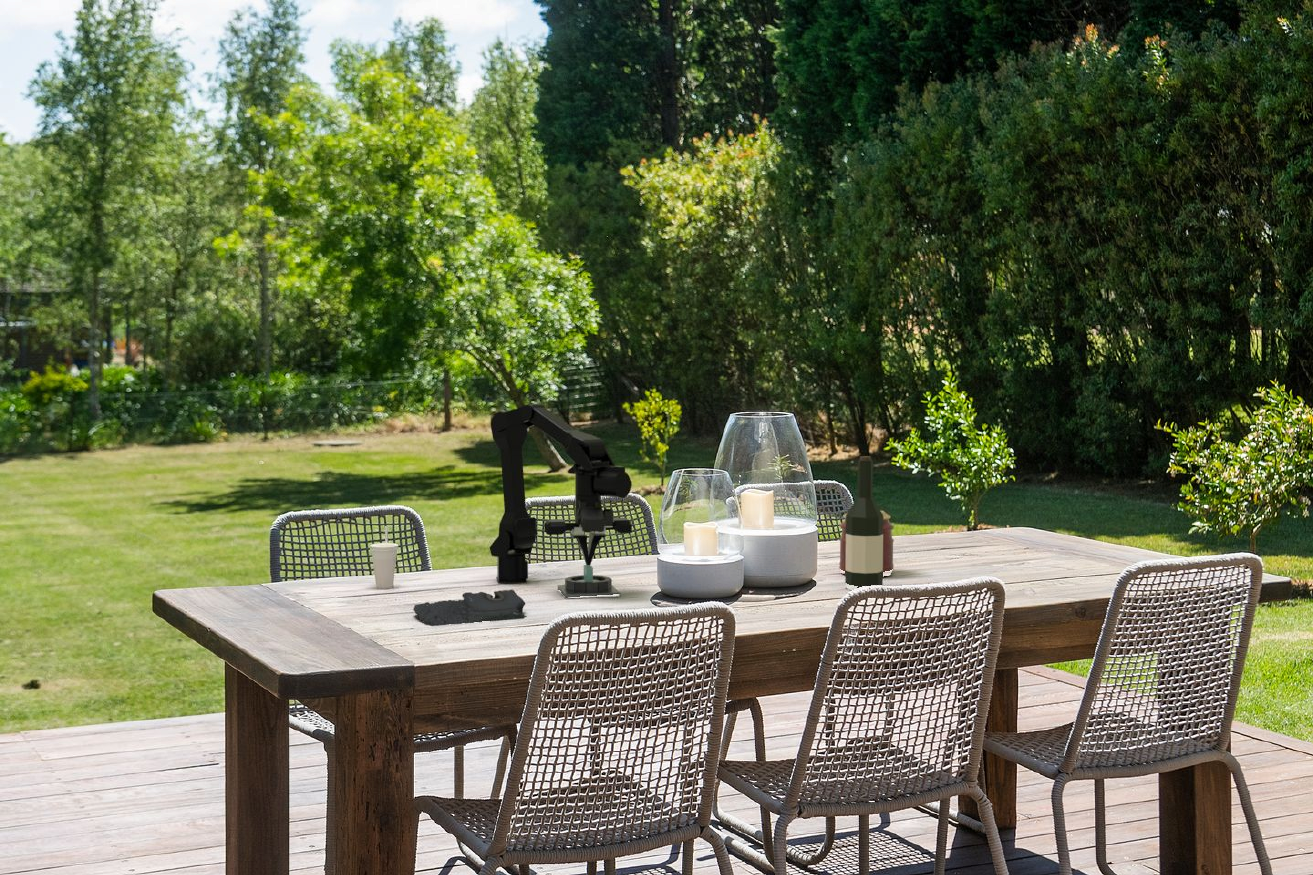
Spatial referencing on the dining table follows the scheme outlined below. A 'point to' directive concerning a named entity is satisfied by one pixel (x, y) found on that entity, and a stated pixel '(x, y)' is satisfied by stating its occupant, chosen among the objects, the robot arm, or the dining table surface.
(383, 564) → the smoothie
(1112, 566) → the dining table surface
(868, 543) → the wine bottle
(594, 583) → the square ring flange
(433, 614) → the dark slate chunk
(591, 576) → the cap
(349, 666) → the dining table surface
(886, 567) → the canister
